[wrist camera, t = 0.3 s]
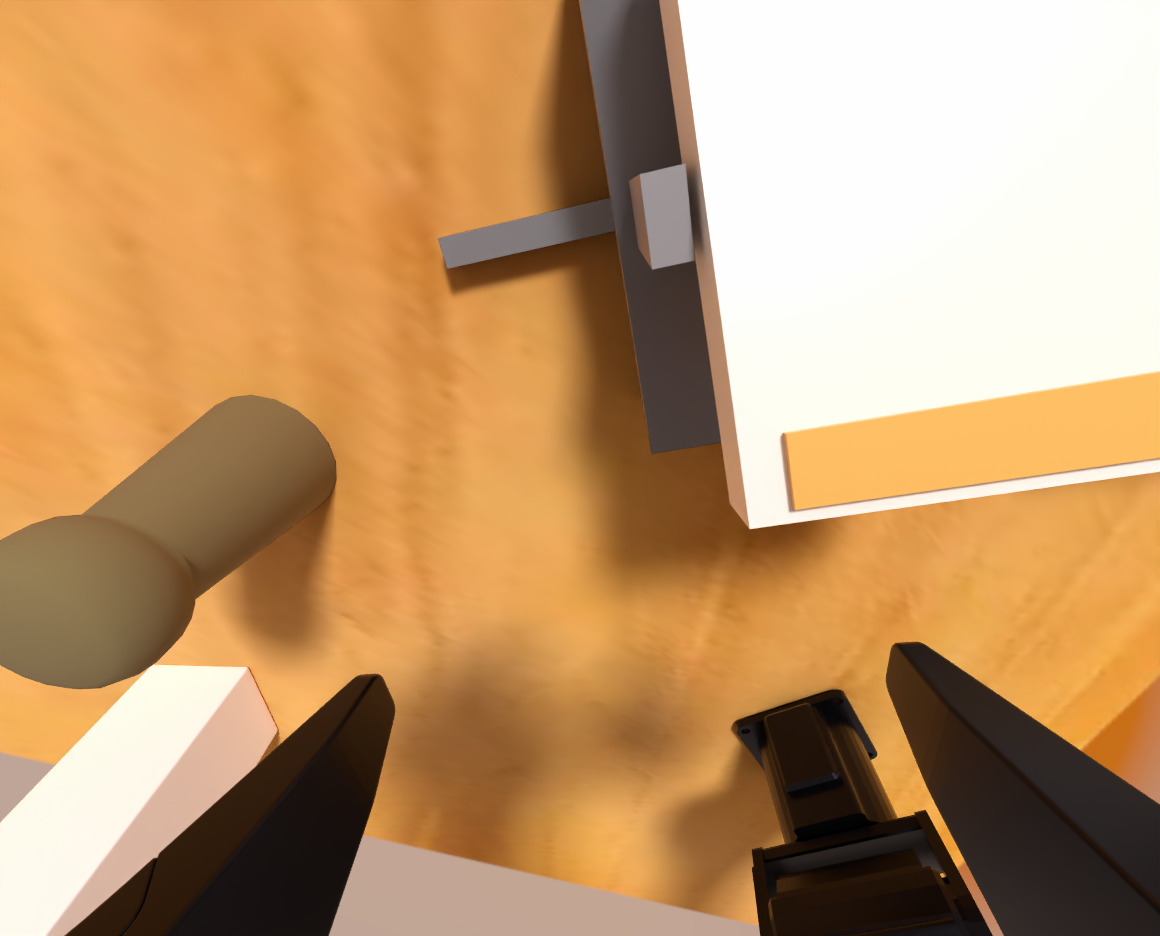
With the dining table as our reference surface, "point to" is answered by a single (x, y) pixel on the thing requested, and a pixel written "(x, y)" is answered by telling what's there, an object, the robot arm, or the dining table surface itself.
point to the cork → (156, 544)
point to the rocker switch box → (634, 221)
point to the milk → (127, 792)
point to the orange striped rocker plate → (923, 244)
